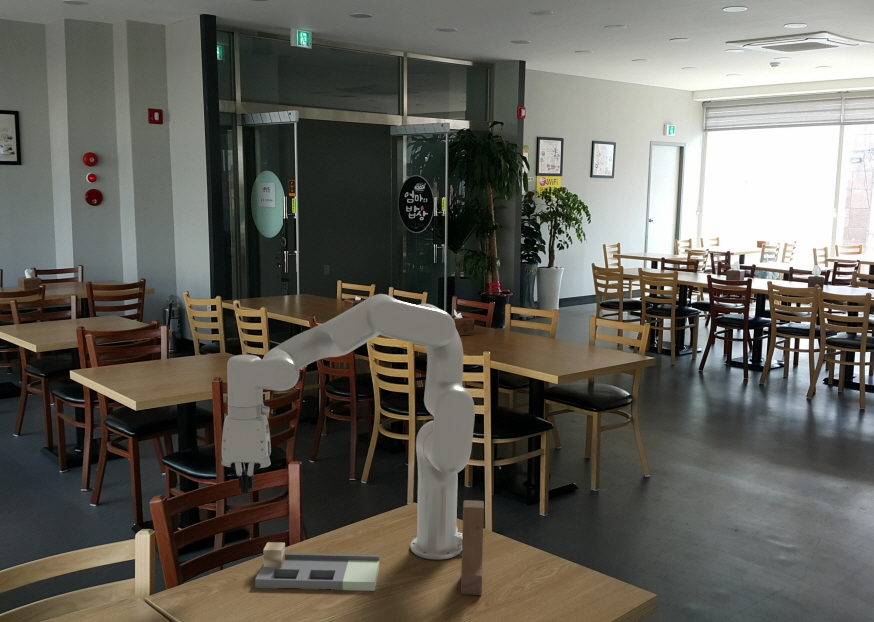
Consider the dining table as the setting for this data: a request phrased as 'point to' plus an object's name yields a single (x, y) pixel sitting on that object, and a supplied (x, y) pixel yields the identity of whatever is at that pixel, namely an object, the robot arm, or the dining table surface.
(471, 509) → the wooden block
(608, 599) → the dining table surface
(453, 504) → the robot arm
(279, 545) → the ash cube
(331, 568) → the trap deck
